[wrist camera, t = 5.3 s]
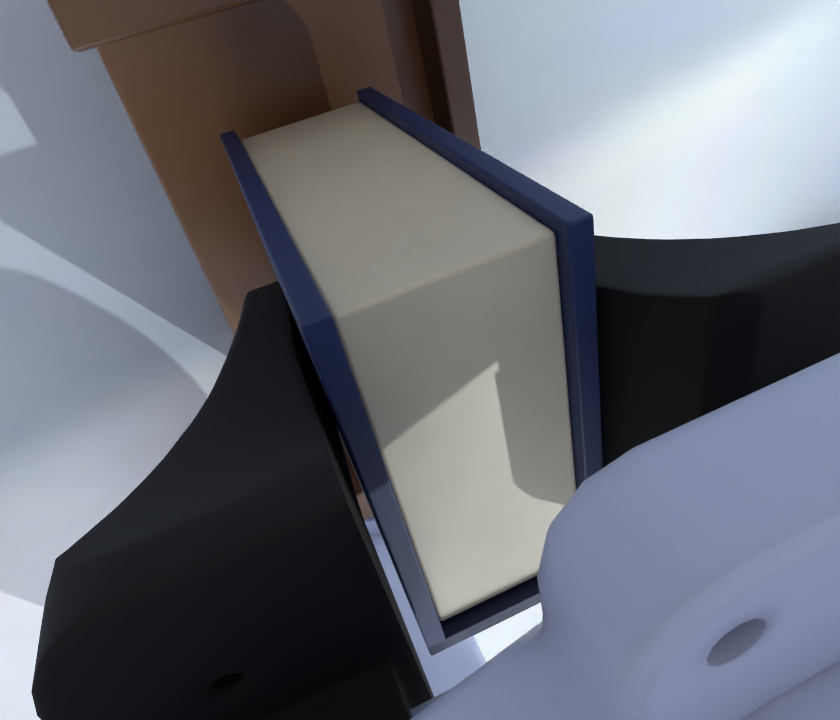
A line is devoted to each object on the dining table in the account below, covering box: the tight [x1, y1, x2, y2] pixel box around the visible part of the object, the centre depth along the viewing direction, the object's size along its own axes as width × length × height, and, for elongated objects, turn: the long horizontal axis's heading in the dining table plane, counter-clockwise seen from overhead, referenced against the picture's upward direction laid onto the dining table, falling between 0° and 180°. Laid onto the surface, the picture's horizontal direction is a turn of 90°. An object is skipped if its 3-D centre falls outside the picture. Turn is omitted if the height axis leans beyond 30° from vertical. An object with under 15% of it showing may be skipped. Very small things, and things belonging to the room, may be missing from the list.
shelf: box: [46, 0, 481, 520], centre depth 15 cm, size 6×12×7 cm, turn 13°
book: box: [220, 87, 603, 656], centre depth 10 cm, size 3×6×8 cm, turn 13°
